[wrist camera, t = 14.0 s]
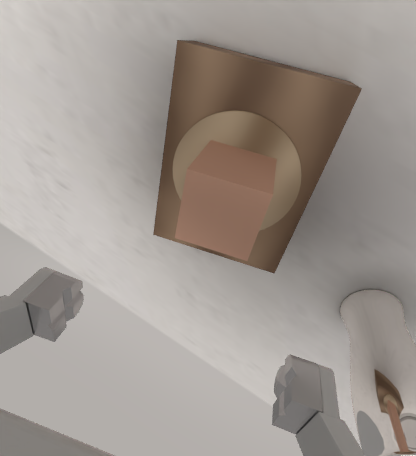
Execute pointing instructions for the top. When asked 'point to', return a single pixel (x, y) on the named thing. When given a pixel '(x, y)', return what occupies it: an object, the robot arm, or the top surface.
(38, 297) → the robot arm
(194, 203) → the terracotta block
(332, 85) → the block
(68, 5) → the top surface
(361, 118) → the top surface
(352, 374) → the beer glass
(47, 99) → the top surface
